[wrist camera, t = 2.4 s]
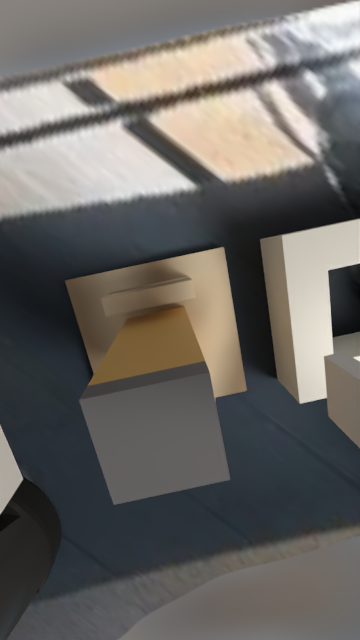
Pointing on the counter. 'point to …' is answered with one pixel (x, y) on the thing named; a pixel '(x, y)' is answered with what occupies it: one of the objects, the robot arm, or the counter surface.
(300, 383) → the port
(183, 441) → the plug
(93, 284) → the beige plate with rail
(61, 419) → the counter surface
